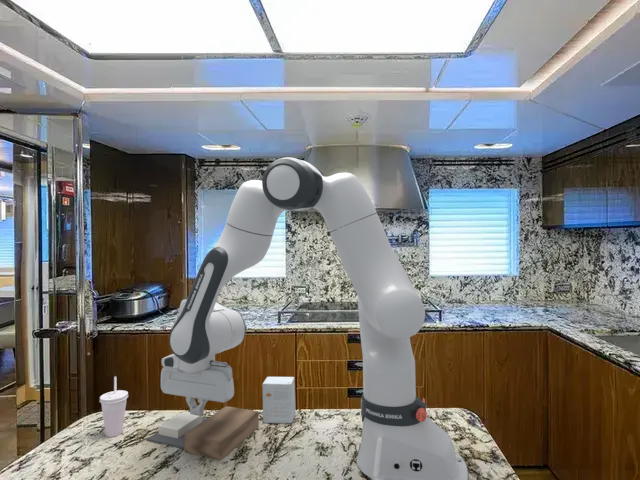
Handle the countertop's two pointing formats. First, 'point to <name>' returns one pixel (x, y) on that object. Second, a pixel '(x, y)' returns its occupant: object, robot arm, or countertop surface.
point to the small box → (278, 399)
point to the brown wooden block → (221, 432)
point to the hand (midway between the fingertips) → (197, 414)
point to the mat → (171, 439)
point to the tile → (179, 424)
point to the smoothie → (114, 410)
